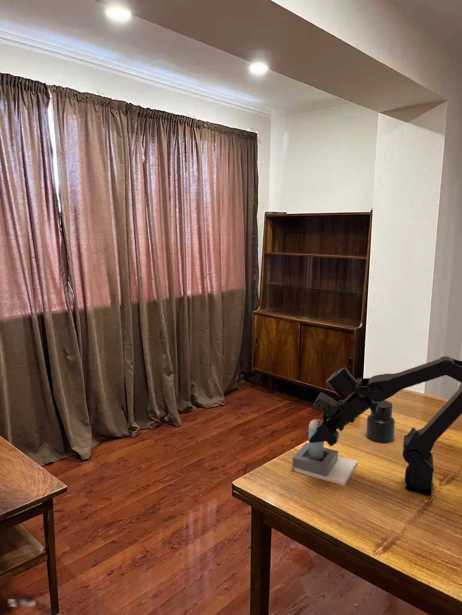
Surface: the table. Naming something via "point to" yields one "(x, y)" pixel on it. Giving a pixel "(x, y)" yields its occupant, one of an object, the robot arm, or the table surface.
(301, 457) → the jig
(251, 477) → the table surface
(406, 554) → the table surface
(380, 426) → the ink bottle
